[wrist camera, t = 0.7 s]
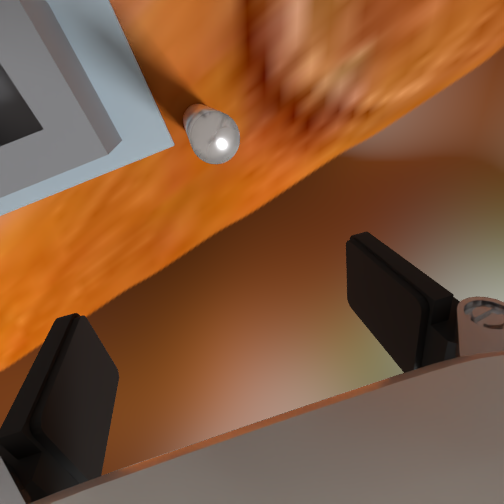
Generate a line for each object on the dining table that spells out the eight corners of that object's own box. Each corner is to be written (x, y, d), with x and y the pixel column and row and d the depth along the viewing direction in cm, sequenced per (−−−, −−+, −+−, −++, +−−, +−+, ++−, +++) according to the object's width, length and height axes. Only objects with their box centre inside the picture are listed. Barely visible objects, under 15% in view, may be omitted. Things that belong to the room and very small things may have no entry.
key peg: (207, 98, 28) (229, 103, 18) (219, 131, 29) (246, 153, 19) (177, 110, 28) (181, 122, 17) (191, 143, 29) (202, 171, 19)
